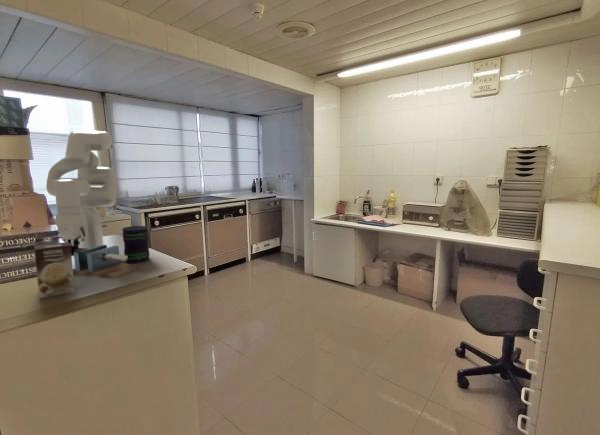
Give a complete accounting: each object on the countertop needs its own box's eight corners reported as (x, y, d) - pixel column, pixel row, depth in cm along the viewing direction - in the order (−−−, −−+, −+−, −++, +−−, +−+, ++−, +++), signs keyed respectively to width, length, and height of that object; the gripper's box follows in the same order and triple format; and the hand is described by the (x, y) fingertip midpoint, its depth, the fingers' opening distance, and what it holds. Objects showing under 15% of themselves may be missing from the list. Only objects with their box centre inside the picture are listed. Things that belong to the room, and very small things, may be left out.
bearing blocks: (75, 270, 114) (73, 252, 112) (104, 261, 126) (102, 244, 125) (92, 272, 112) (91, 254, 111) (119, 262, 124) (118, 245, 123)
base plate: (70, 273, 115) (70, 269, 115) (97, 264, 126) (97, 260, 126) (114, 278, 111) (113, 274, 110) (137, 268, 122) (137, 264, 122)
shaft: (74, 261, 118) (72, 249, 117) (85, 258, 123) (84, 246, 122) (120, 266, 113) (119, 253, 113) (130, 262, 118) (129, 250, 117)
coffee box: (38, 299, 92) (32, 249, 90) (39, 292, 97) (33, 245, 94) (75, 291, 98) (70, 245, 96) (74, 286, 103) (69, 241, 100)
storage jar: (154, 259, 135) (152, 227, 132) (133, 265, 126) (131, 231, 124) (140, 256, 139) (138, 225, 137) (119, 261, 131) (117, 228, 128)
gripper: (44, 210, 116) (49, 255, 119) (76, 212, 113) (80, 258, 116) (63, 208, 123) (67, 251, 126) (93, 210, 120) (97, 253, 123)
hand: (74, 254), depth 121 cm, fingers closed
